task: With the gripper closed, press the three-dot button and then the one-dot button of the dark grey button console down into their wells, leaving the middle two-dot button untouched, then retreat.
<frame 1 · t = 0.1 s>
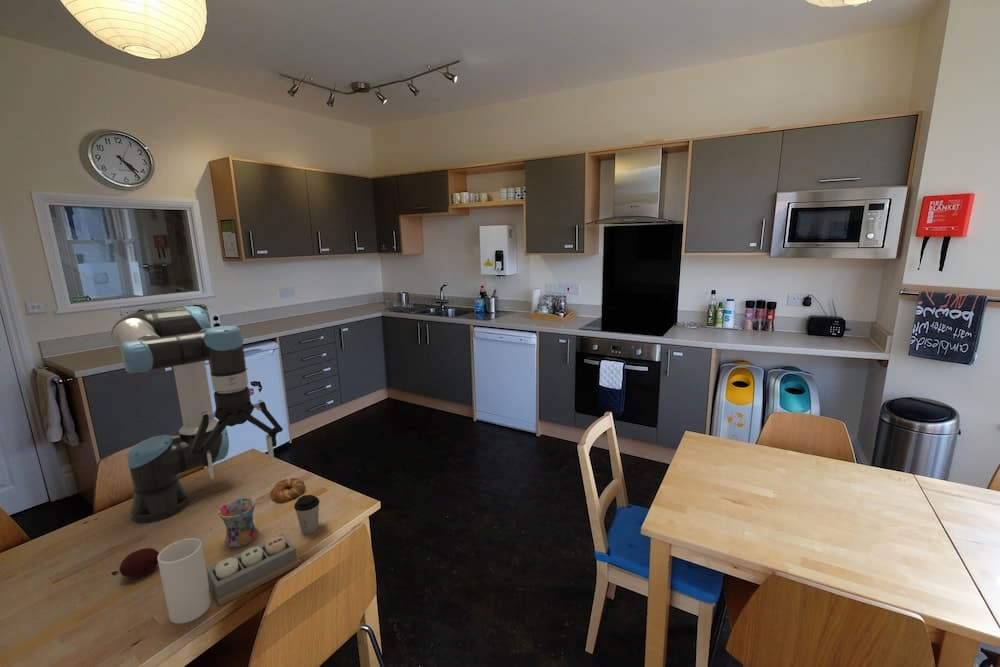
hand: (242, 467, 114), 28 cm above the table, fingers open, 13 cm apart
coffee cup: (309, 529, 133), on the table
button 3: (275, 546, 119), point 4 cm above the table, slide at 0.0 cm
button 2: (252, 557, 115), point 4 cm above the table, slide at 0.0 cm
console: (254, 572, 116), on the table
bagel: (288, 494, 152), on the table
button 1: (227, 569, 111), point 4 cm above the table, slide at 0.0 cm
mug: (243, 537, 130), on the table
cup: (191, 609, 105), on the table
potato: (142, 572, 117), on the table
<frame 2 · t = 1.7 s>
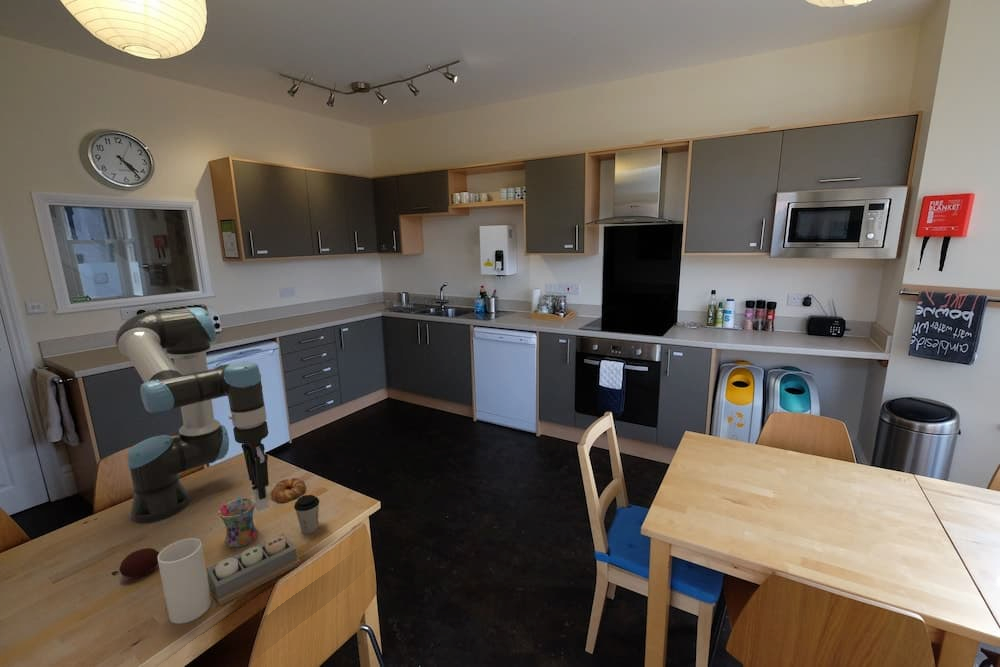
hand: (262, 508, 116), 16 cm above the table, fingers closed
nothing on the table moved.
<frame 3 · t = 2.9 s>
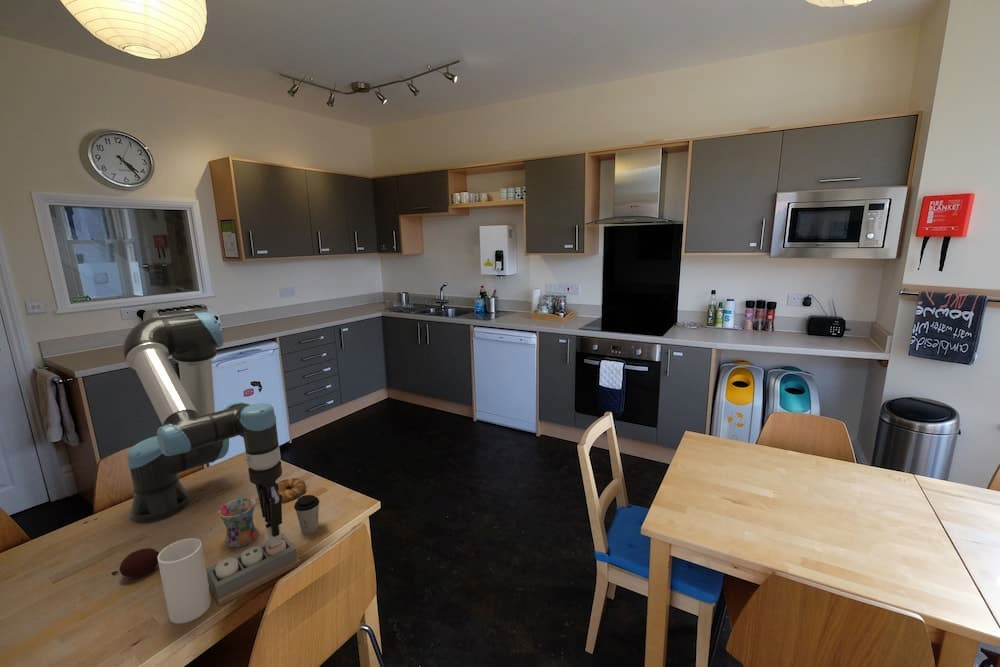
hand: (275, 544, 119), 5 cm above the table, fingers closed
button 3: (276, 550, 119), point 3 cm above the table, slide at 1.0 cm, touching gripper
everything else where it was.
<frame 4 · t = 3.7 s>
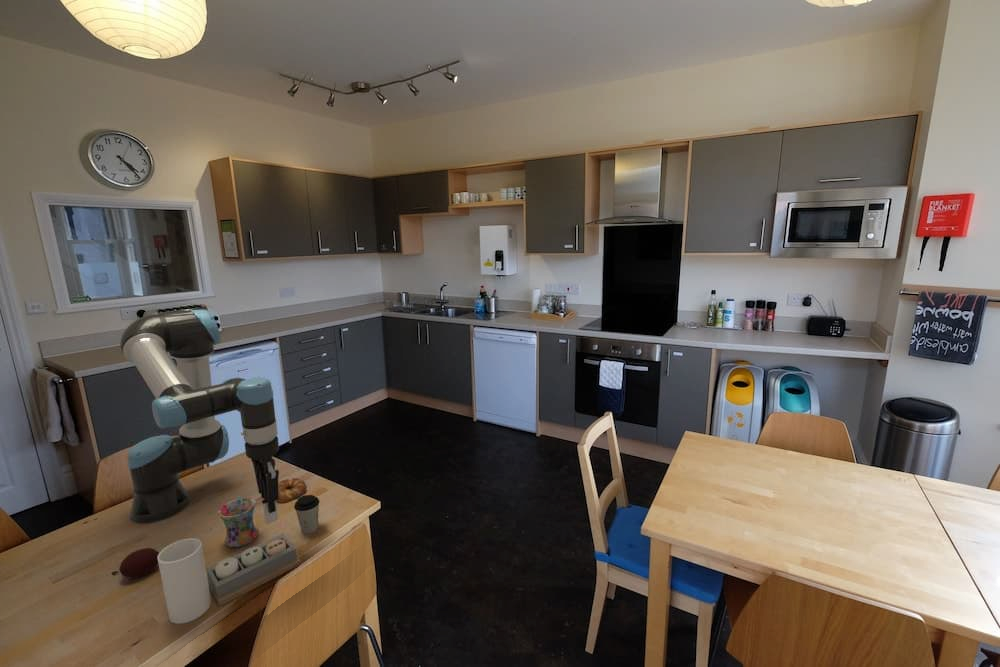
hand: (271, 520, 118), 12 cm above the table, fingers closed
button 3: (276, 550, 119), point 3 cm above the table, slide at 1.1 cm
everything else where it was.
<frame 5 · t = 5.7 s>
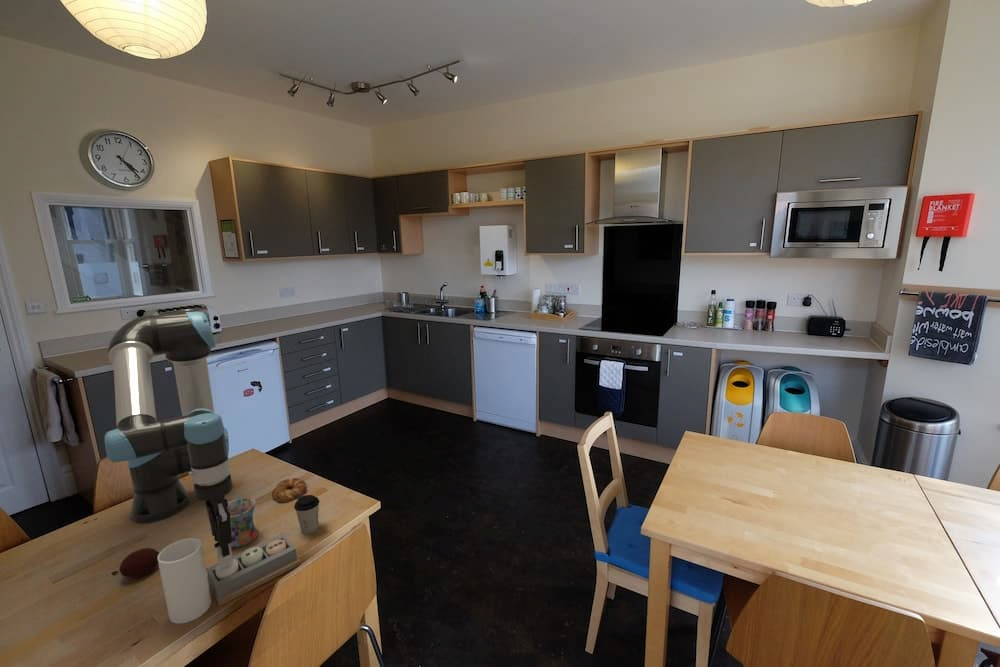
hand: (226, 564, 111), 6 cm above the table, fingers closed
button 1: (227, 570, 111), point 4 cm above the table, slide at 0.3 cm, touching gripper
everything else where it was.
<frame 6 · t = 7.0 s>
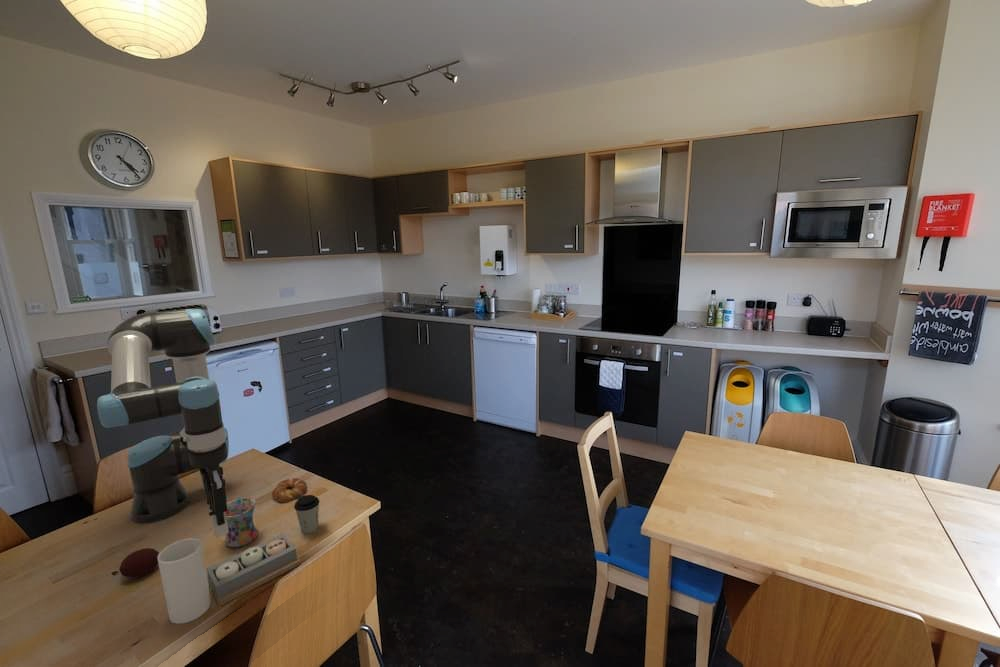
hand: (221, 533, 109), 14 cm above the table, fingers closed
button 1: (227, 573, 111), point 3 cm above the table, slide at 1.1 cm
everything else where it was.
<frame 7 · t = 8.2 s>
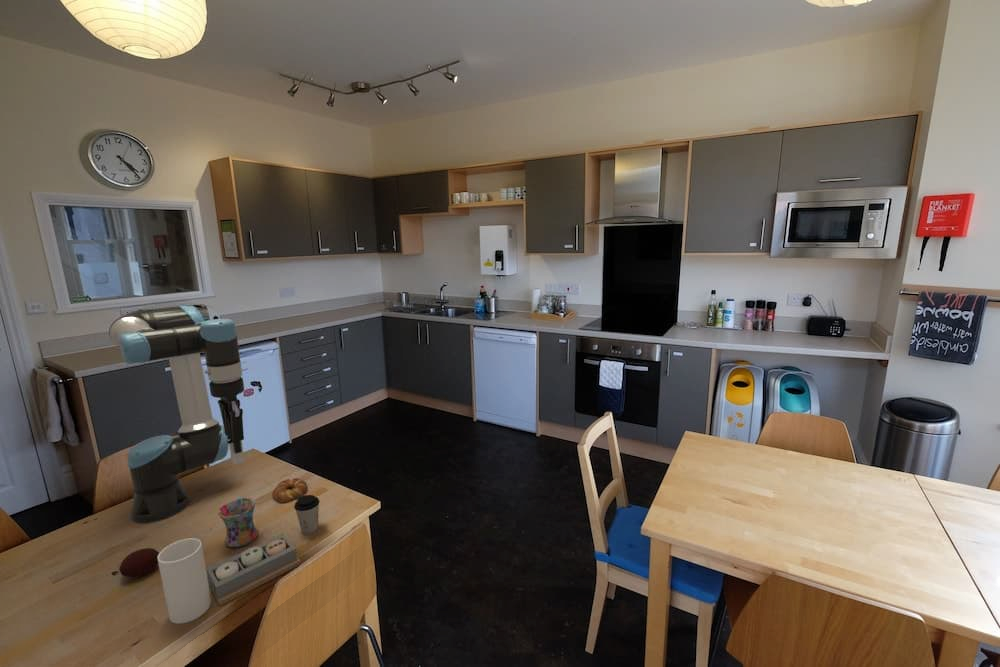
hand: (238, 462, 120), 26 cm above the table, fingers closed
nothing on the table moved.
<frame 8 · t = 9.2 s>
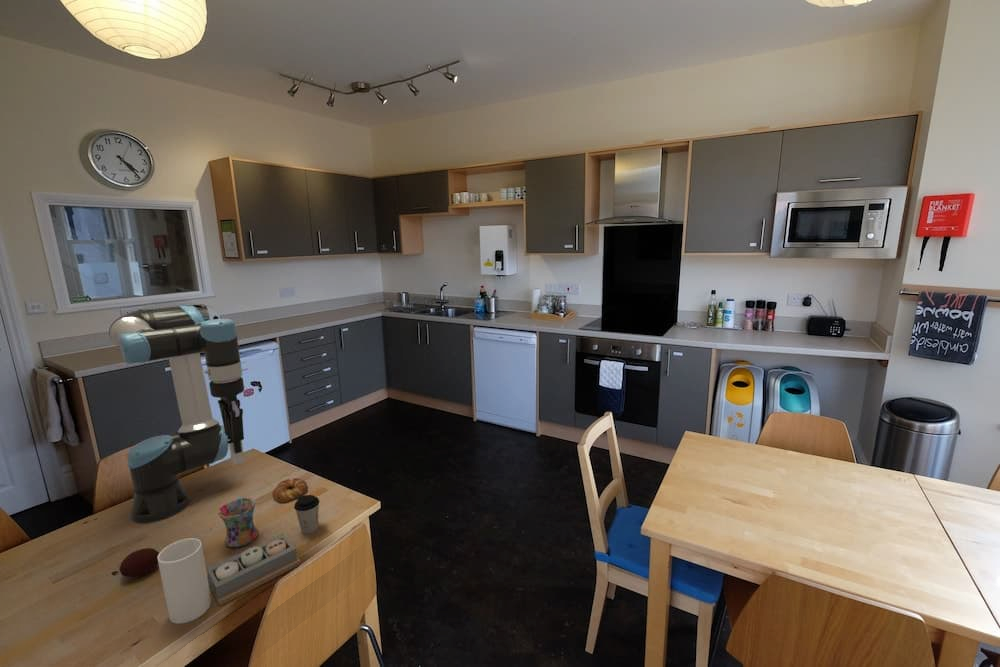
hand: (238, 462, 120), 26 cm above the table, fingers closed
nothing on the table moved.
at the end: button 3 slide at 1.1 cm; button 1 slide at 1.1 cm; button 2 slide at 0.0 cm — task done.
